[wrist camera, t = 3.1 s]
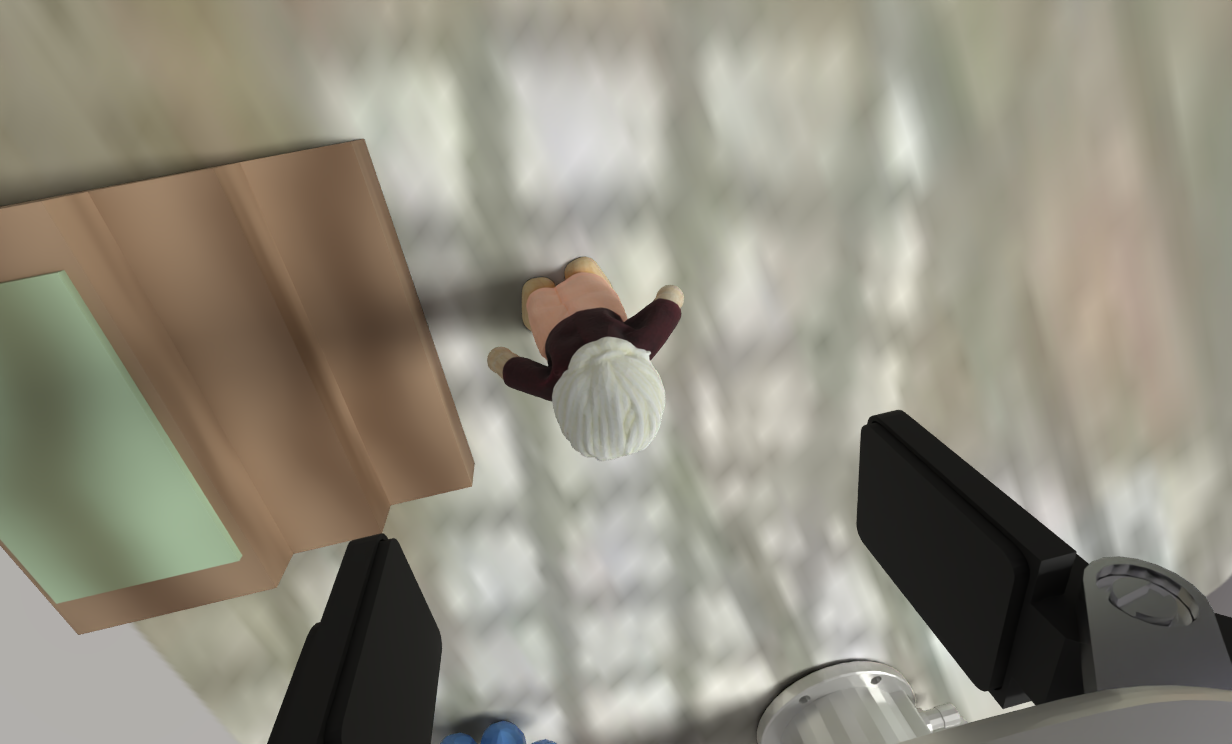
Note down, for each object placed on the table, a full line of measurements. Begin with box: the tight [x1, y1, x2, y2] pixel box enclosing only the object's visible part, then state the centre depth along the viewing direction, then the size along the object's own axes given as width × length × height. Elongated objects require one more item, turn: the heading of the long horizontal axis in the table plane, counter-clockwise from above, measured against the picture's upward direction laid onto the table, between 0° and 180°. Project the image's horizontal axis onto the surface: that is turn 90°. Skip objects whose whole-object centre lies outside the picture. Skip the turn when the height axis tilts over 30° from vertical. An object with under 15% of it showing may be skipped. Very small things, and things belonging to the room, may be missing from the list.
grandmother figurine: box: [487, 257, 684, 461], centre depth 21 cm, size 8×4×13 cm, turn 120°
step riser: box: [0, 139, 475, 635], centre depth 23 cm, size 16×16×6 cm
